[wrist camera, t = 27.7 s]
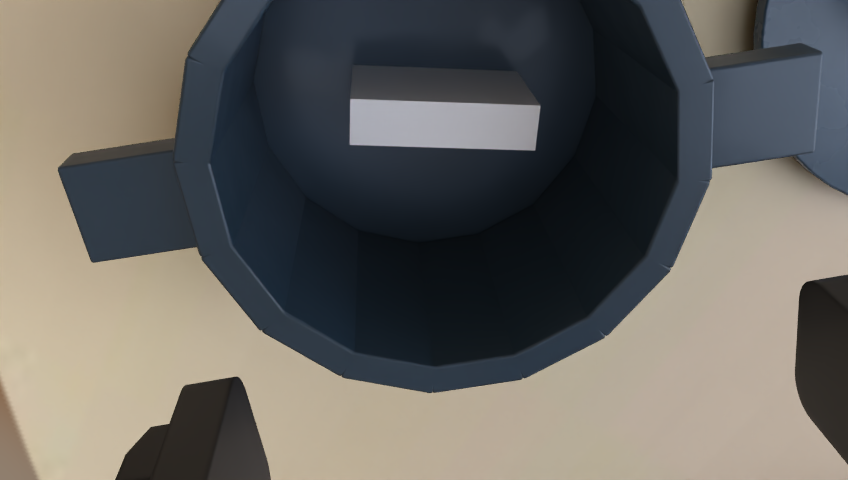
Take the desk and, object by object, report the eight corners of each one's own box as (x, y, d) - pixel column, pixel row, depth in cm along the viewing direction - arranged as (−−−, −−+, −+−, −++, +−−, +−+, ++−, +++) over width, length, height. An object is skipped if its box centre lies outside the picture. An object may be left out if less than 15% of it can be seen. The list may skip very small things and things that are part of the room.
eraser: (513, 111, 24) (535, 151, 21) (351, 105, 24) (348, 145, 20) (517, 70, 23) (541, 104, 20) (352, 64, 23) (349, 97, 20)
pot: (701, 215, 26) (815, 336, 20) (198, 291, 26) (141, 438, 20) (709, -174, 21) (866, -189, 15) (86, -79, 21) (-44, -50, 15)
